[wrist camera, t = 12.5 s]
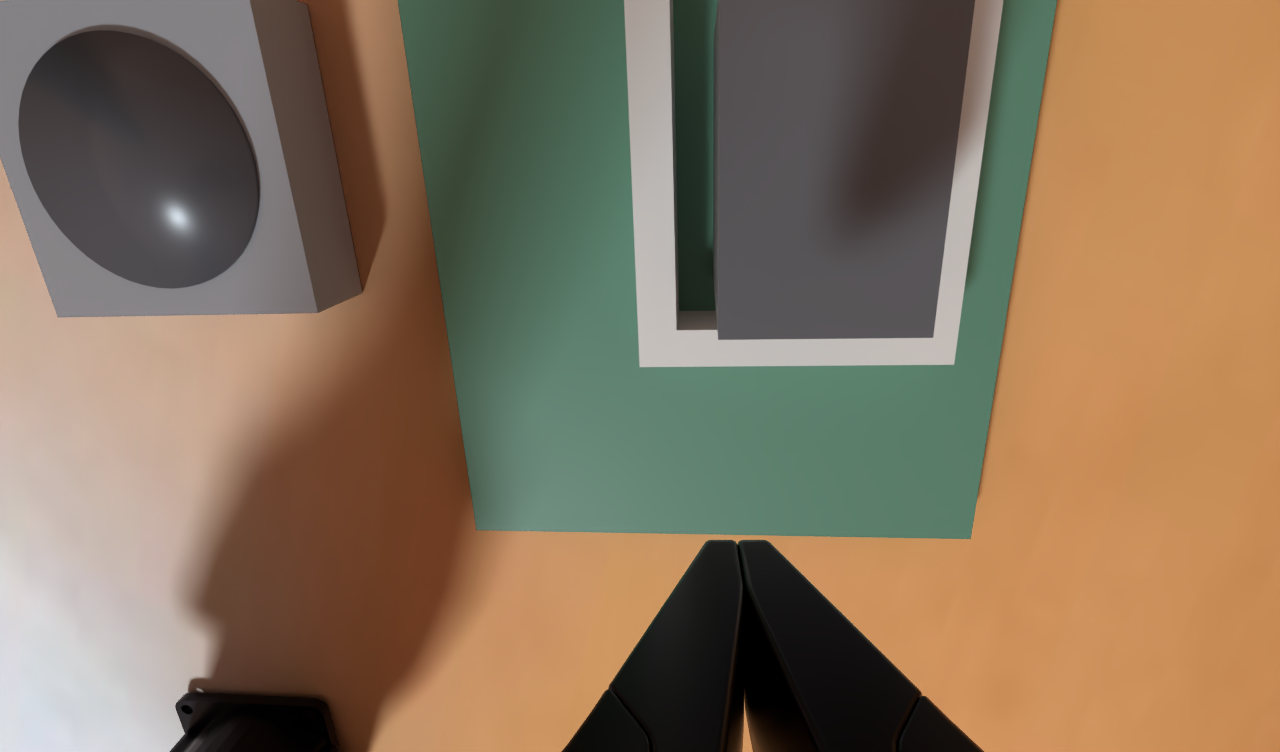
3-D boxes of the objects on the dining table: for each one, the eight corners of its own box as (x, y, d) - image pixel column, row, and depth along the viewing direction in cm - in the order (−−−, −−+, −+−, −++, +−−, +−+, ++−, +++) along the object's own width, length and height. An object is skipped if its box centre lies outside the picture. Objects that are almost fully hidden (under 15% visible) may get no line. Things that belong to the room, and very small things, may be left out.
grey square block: (130, 297, 21) (52, 318, 18) (42, 22, 18) (-62, 3, 16) (362, 292, 20) (314, 314, 18) (307, 4, 17) (241, -19, 15)
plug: (712, 277, 18) (718, 339, 12) (713, -7, 16) (720, -90, 10) (859, 275, 18) (933, 337, 12) (883, -18, 15) (989, -111, 10)
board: (485, 514, 23) (455, 566, 20) (400, -92, 16) (337, -140, 14) (958, 521, 21) (998, 580, 18) (1059, -146, 15) (1143, -213, 12)
